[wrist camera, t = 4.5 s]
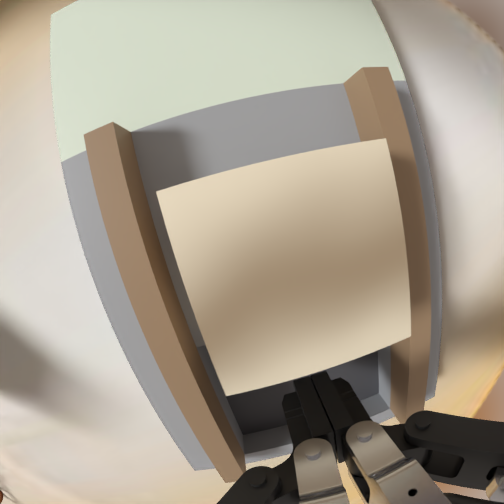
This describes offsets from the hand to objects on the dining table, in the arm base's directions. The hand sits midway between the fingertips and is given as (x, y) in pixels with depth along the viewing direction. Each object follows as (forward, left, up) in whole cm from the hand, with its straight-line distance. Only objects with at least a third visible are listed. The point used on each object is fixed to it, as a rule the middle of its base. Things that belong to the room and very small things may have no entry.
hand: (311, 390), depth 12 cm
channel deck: (-7, 0, -3) cm, 8 cm away
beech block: (-6, 0, -1) cm, 7 cm away
